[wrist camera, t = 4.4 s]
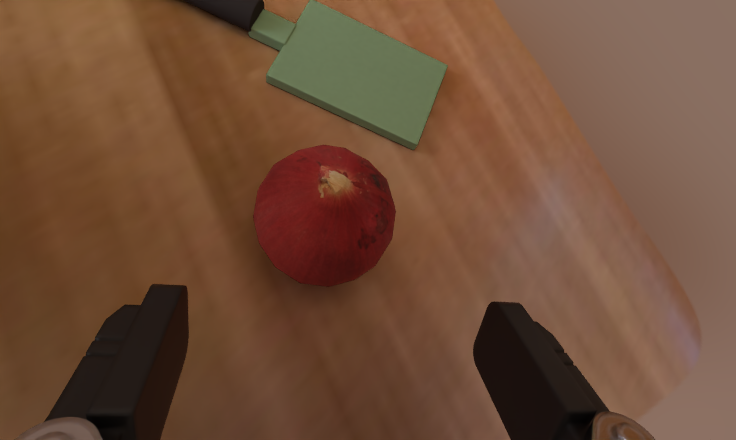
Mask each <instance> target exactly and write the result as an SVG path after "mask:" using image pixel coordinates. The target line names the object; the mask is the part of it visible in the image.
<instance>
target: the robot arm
mask: <svg viewBox="0 0 736 440" xmlns="http://www.w3.org/2000/svg"><path fill="white" fill-rule="evenodd" d="M188 338H189V327H188V292H187V287H186V286H184V285H164V284H152V285H151V286H150V288H149V290H148V292H147V294H146V296H145V298H144V300H143V302H142V304H141V305H124V306H122V307H121V308H120V309H118V310H117V311H116V312H115V313H113V314H112V315H111V316H110V317H108V318H107V319H106V320H105V322H104V323H103V325H102V327H101V328H100V330H99V332H98V333H97V335H96V337H95V341H93V342H92V343H91V345H90V347H89V348H88V350H87V352H86V356H84V357H83V358H82V360H81V362H80V363H79V365H78V367H77V369H76V370H75V372H74V374H73V375H72V377H71V379H70V380H69V382H68V384H67V385H66V387H65V389H64V390H63V392H62V394H61V395H60V397H59V399H58V400H57V402H56V404H55V405H54V407H53V409H52V410H51V412H50V414H49V416H48V417H47V418H46V420H45V421H44V422H43V423H41V424H38V425H36V426H34V427H32V428H30V429H28V430H27V431H25V432H24V433H22V434H21V435H19V436H18V437H17V438H16V439H14V440H160V437H161V434H162V431H163V428H164V425H165V422H166V418H167V415H168V412H169V409H170V406H171V402H172V399H173V396H174V393H175V390H176V386H177V383H178V380H179V377H180V374H181V371H182V367H183V364H184V361H185V357H186V353H187V347H188ZM473 356H474V361H475V365H476V367H477V369H478V371H479V373H480V375H481V378H482V380H483V382H484V384H485V386H486V388H487V390H488V392H489V394H490V397H491V399H492V401H493V403H494V405H495V407H496V409H497V411H498V413H499V416H500V418H501V420H502V422H503V424H504V426H505V428H506V430H507V432H508V435H509V437H510V439H511V440H655V439H654V437H653V436H652V435H651V434H650V433H649V432H648V431H647V430H646V429H645V428H643V427H642V426H641V425H640V424H638V423H637V422H635V421H634V420H632V419H630V418H628V417H626V416H624V415H621V414H618V413H614V412H610V411H609V410H608V408H607V407H606V406H605V404H604V403H603V402H602V400H601V399H600V398H599V396H598V395H597V394H596V392H595V391H594V390H593V388H592V387H591V386H590V384H589V383H588V381H587V380H586V379H585V377H584V376H583V375H582V373H581V372H580V371H579V369H578V368H577V367H576V366H574V365H573V361H572V360H571V359H570V357H569V356H568V355H567V353H564V349H563V348H562V346H561V345H560V344H559V342H558V341H557V340H556V338H555V337H554V336H553V335H552V334H551V333H550V332H549V331H547V330H546V329H545V328H544V327H543V326H541V325H540V324H539V323H538V322H534V321H533V320H532V318H531V317H530V316H529V314H528V313H527V311H526V310H525V309H524V307H523V306H522V305H521V304H520V303H513V302H491V303H490V304H489V305H488V307H487V310H486V312H485V315H484V318H483V320H482V323H481V326H480V328H479V331H478V334H477V336H476V339H475V342H474V347H473Z"/></svg>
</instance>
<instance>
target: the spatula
mask: <svg viewBox="0 0 736 440" xmlns="http://www.w3.org/2000/svg"><path fill="white" fill-rule="evenodd" d="M184 1H186V2H188V3H190V4H192V5H194V6H196V7H198V8H200V9H203V10H205V11H207V12H209V13H211V14H213V15H215V16H217V17H219V18H222V19H224V20H226V21H228V22H230V23H232V24H234V25H236V26H238V27H241V28H243V29H245V30H247V31H249V36H250V37H251V38H253V39H256V40H258V41H260V42H262V43H264V44H266V45H268V46H270V47H272V48H275V49H277V50H279V51H280V52H279V54H278V55H277V57H276V59H275V61H274V62H273V64H272V66H271V67H270V69H269V71H268V73H267V74H266V82H267V83H270V84H272V85H274V86H276V87H278V88H280V89H283V90H285V91H287V92H289V93H291V94H293V95H295V96H298V97H300V98H302V99H304V100H306V101H308V102H311V103H313V104H315V105H317V106H319V107H321V108H323V109H326V110H328V111H330V112H332V113H334V114H336V115H339V116H341V117H343V118H345V119H347V120H349V121H352V122H354V123H356V124H358V125H360V126H362V127H364V128H367V129H369V130H371V131H373V132H375V133H377V134H380V135H382V136H384V137H386V138H388V139H390V140H392V141H395V142H397V143H399V144H401V145H403V146H405V147H408V148H410V149H412V150H414V149H415V148H416V146H417V145H418V143H419V140H420V137H421V135H422V132H423V130H424V127H425V124H426V122H427V119H428V116H429V114H430V111H431V109H432V106H433V103H434V101H435V98H436V96H437V93H438V90H439V88H440V85H441V82H442V80H443V77H444V75H445V72H446V69H447V67H448V65H446V64H444V63H442V62H440V61H438V60H436V59H434V58H432V57H430V56H428V55H426V54H424V53H421V52H419V51H417V50H415V49H413V48H411V47H409V46H407V45H405V44H403V43H401V42H399V41H397V40H395V39H393V38H391V37H389V36H387V35H385V34H383V33H380V32H378V31H376V30H374V29H372V28H370V27H368V26H366V25H364V24H362V23H360V22H358V21H356V20H354V19H352V18H350V17H348V16H346V15H344V14H342V13H339V12H337V11H335V10H333V9H331V8H329V7H327V6H325V5H323V4H321V3H319V2H317V1H315V0H310V1H309V2H308V4H307V6H306V7H305V9H304V11H303V13H302V14H301V16H300V18H299V19H298V21H297V23H296V24H294V23H292V22H290V21H288V20H286V19H284V18H282V17H280V16H278V15H276V14H273V13H271V12H269V11H267V10H265V9H264V2H263V0H184Z"/></svg>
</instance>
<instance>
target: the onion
mask: <svg viewBox="0 0 736 440" xmlns="http://www.w3.org/2000/svg"><path fill="white" fill-rule="evenodd" d="M395 213H396V210H395V205H394V202H393V199H392V195H391V192H390V189H389V185H388V182H387V179H386V178H385V177H384V176H383V175H382V174H381V173H380V172H379V171H378V170H377V169H376V168H375V167H374V166H373V165H372V164H371V163H370V162H369V161H368V160H366V159H364V158H362V157H360V156H358V155H356V154H354V153H353V152H351V151H349V150H348V149H346V148H341V147H335V146H328V145H320V146H315V147H311V148H306V149H301V150H298V151H296V152H295V153H293V154H291V155H289V156H288V157H286V158H284V159H282V160H281V161H279V162H277V163H276V164H274V165H273V167H272V168H271V170H270V171H269V173H268V175H267V176H266V178H265V179H264V181H263V182H262V184H261V185H260V187H259V189H258V192H257V198H256V203H255V209H254V215H253V218H254V223H255V227H256V232H257V236H258V241H259V244H260V245H261V247H262V248H263V250H264V251H265V253H266V254H267V256H268V257H269V259H270V260H271V261H272V263H273V264H274V266H275V267H276V268H278V269H279V270H281V271H282V272H284V273H285V274H287V275H288V276H290V277H292V278H293V279H295V280H296V281H298V282H299V283H304V284H312V285H319V286H327V287H329V286H333V285H337V284H341V283H344V282H348V281H352V280H355V279H356V278H358V277H359V276H361V275H362V274H364V273H365V272H367V271H368V270H370V269H371V268H373V267H374V266H375V265H376V264H377V262H378V261H379V259H380V257H381V256H382V254H383V253H384V251H385V250H386V248H387V246H388V245H389V243H390V241H391V239H392V236H393V228H394V221H395Z"/></svg>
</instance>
